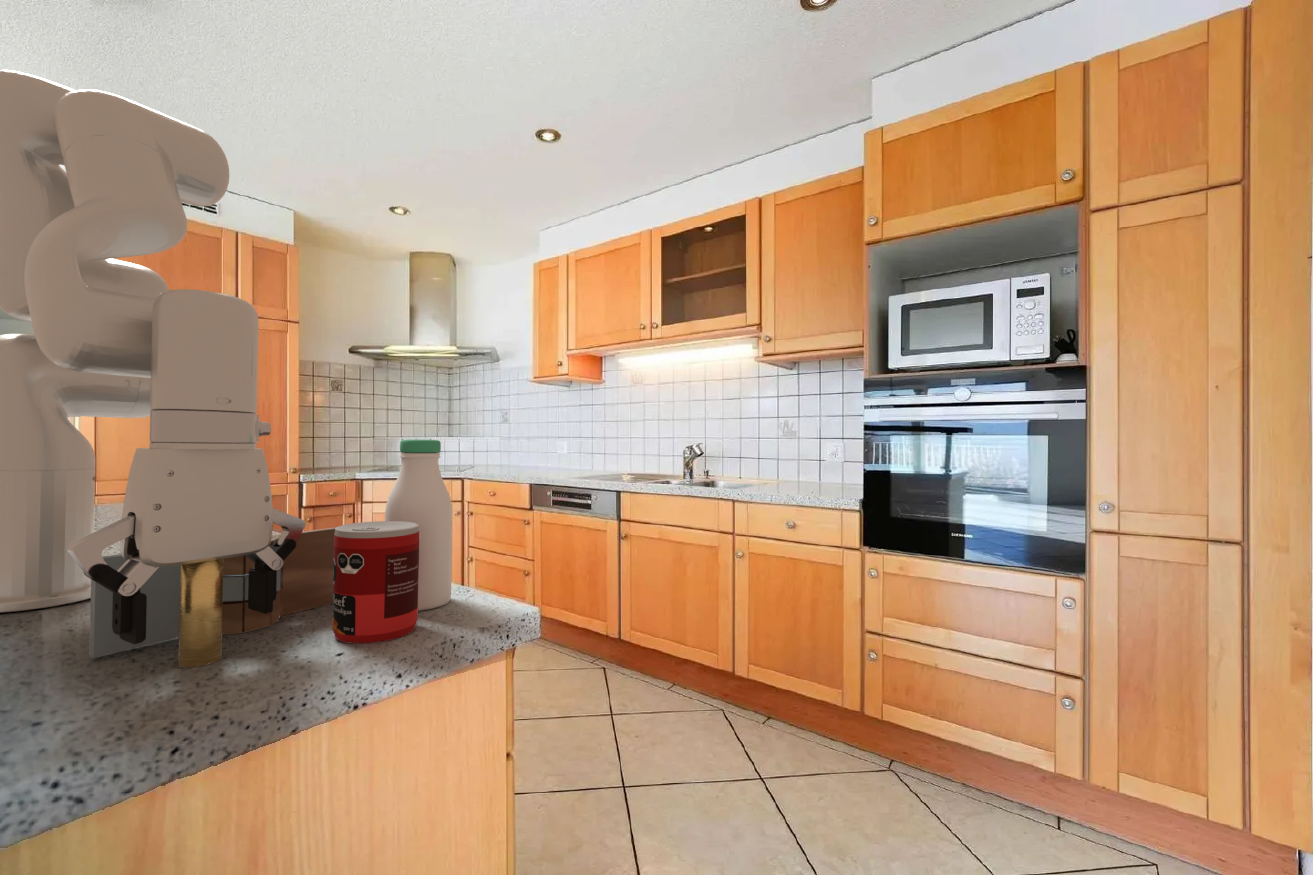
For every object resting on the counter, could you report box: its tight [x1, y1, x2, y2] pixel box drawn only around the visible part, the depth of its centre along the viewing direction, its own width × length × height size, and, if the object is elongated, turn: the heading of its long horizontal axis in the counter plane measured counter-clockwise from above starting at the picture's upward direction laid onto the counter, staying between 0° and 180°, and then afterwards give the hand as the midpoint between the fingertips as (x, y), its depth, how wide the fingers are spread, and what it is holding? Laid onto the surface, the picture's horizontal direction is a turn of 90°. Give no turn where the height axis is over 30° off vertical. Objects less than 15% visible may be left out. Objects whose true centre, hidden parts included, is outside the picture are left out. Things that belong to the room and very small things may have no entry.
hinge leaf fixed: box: [222, 526, 338, 635], centre depth 66 cm, size 6×16×9 cm, turn 151°
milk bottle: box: [384, 438, 453, 612], centre depth 70 cm, size 8×8×20 cm
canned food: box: [332, 520, 419, 644], centre depth 60 cm, size 8×8×11 cm
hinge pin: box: [178, 559, 223, 668], centre depth 52 cm, size 3×3×10 cm
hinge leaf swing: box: [88, 553, 281, 659], centre depth 58 cm, size 6×15×9 cm, turn 151°
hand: (201, 624), depth 52 cm, fingers open, 9 cm apart
